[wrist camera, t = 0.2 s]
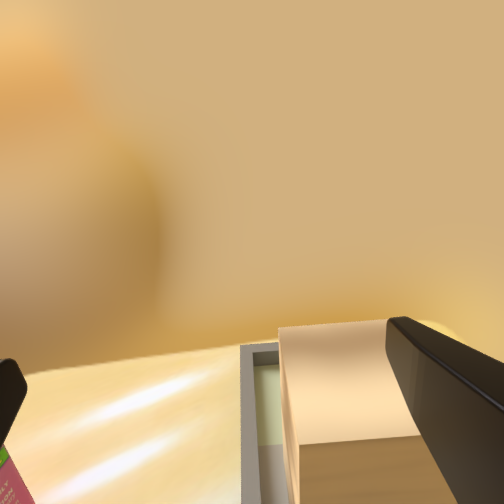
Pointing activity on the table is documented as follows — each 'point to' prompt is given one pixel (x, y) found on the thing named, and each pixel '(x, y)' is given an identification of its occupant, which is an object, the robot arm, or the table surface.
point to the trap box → (261, 426)
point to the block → (350, 421)
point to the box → (12, 482)
